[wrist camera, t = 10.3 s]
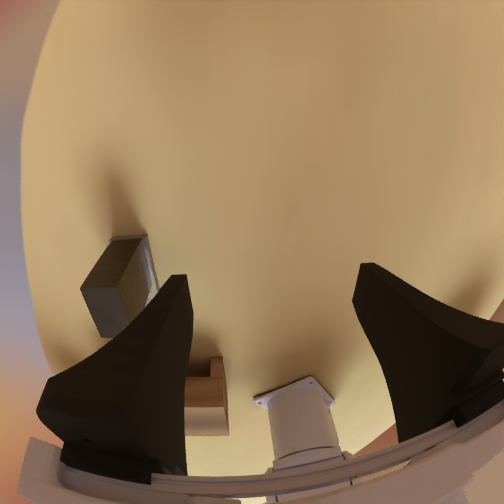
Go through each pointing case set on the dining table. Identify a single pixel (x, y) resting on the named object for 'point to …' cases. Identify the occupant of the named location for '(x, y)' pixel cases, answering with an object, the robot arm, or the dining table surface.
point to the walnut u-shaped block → (207, 403)
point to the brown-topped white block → (120, 284)
